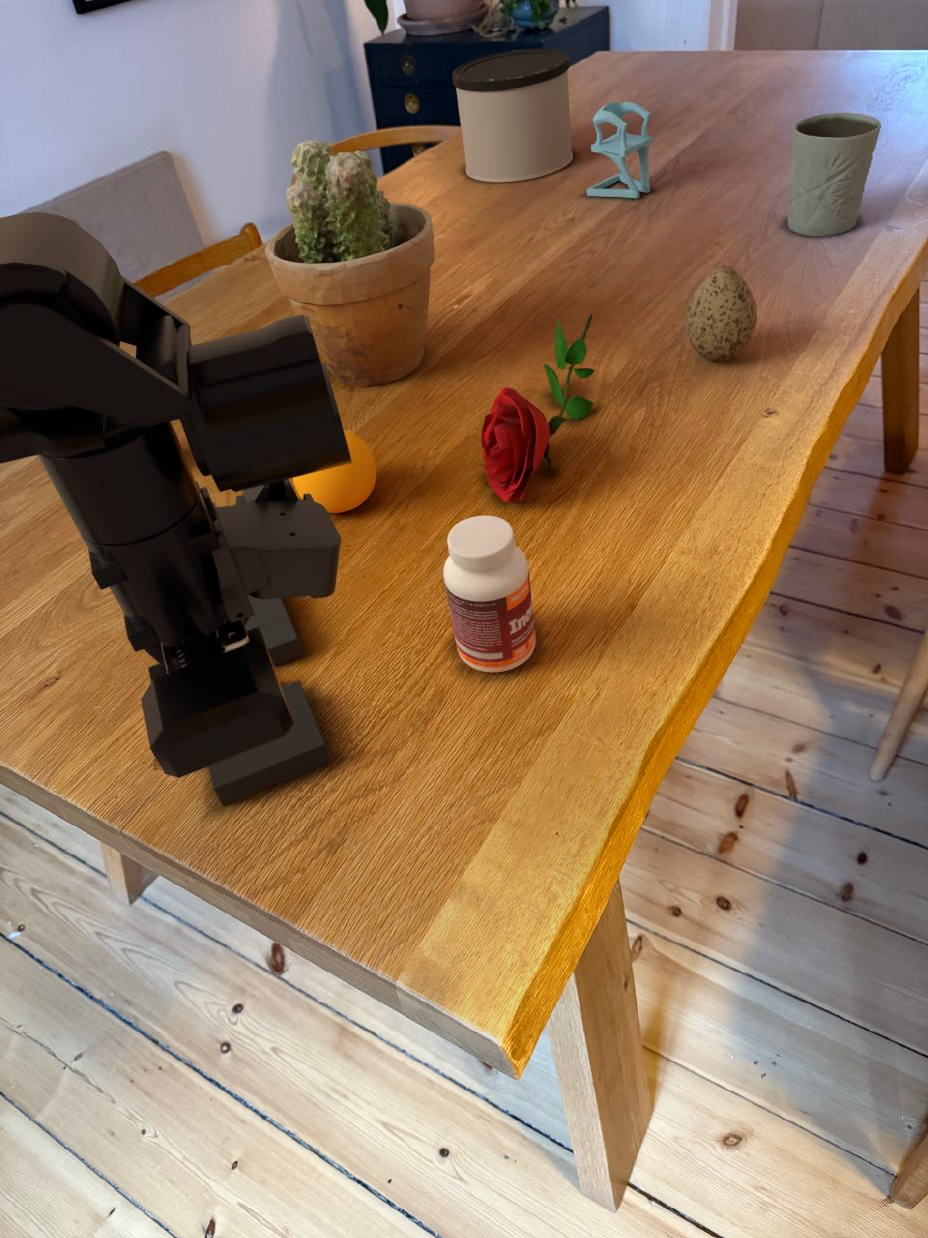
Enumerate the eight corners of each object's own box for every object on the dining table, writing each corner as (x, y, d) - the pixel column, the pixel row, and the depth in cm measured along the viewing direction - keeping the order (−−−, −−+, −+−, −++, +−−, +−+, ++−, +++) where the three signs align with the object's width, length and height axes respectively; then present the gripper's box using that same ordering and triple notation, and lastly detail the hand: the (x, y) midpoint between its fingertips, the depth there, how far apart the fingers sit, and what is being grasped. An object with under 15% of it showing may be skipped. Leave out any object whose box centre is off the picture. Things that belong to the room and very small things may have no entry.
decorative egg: (754, 373, 93) (762, 280, 87) (684, 375, 95) (687, 283, 88) (752, 340, 98) (760, 250, 92) (685, 342, 100) (688, 254, 93)
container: (525, 188, 144) (516, 83, 134) (442, 175, 155) (428, 77, 144) (596, 150, 153) (592, 49, 143) (513, 140, 163) (504, 45, 153)
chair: (627, 204, 133) (626, 115, 125) (585, 195, 138) (582, 109, 130) (660, 186, 136) (661, 99, 128) (618, 178, 141) (617, 94, 133)
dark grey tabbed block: (222, 806, 62) (213, 789, 61) (199, 711, 69) (190, 694, 68) (331, 761, 63) (324, 744, 62) (297, 673, 70) (290, 656, 69)
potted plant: (272, 376, 108) (202, 155, 91) (385, 314, 116) (340, 101, 99) (369, 419, 97) (311, 179, 80) (485, 348, 106) (455, 116, 89)
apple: (292, 526, 85) (270, 460, 80) (313, 478, 91) (294, 413, 85) (373, 524, 83) (356, 456, 78) (390, 475, 89) (374, 409, 84)
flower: (560, 257, 94) (475, 432, 76) (640, 297, 94) (575, 480, 76) (529, 325, 101) (445, 500, 83) (604, 362, 101) (537, 543, 83)
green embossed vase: (776, 214, 123) (785, 118, 114) (852, 204, 121) (867, 106, 113) (792, 242, 115) (804, 141, 107) (874, 232, 114) (892, 130, 106)
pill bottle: (530, 678, 67) (516, 565, 59) (450, 673, 68) (426, 563, 61) (542, 620, 71) (530, 509, 63) (466, 617, 72) (446, 508, 65)
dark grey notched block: (183, 701, 70) (173, 684, 69) (164, 625, 77) (156, 608, 76) (304, 655, 72) (297, 638, 70) (275, 585, 79) (269, 567, 78)
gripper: (359, 558, 37) (422, 783, 47) (260, 375, 50) (327, 584, 61) (89, 656, 35) (219, 869, 45) (61, 438, 48) (167, 642, 58)
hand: (241, 721), depth 52 cm, fingers closed
